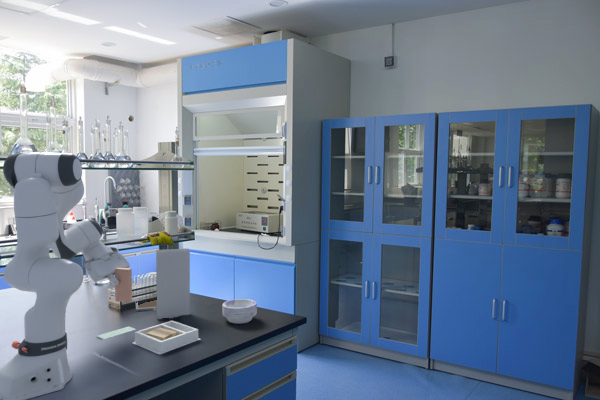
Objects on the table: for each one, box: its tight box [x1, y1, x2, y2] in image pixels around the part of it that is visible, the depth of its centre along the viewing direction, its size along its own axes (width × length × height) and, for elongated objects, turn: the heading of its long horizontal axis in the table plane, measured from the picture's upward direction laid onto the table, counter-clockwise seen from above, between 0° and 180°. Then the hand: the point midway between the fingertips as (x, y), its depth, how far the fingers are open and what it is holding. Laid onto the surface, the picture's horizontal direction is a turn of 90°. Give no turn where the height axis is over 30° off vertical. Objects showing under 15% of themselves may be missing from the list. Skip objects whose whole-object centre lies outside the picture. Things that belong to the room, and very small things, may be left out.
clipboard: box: [135, 300, 157, 312], centre depth 227 cm, size 19×2×30 cm
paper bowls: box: [221, 298, 258, 325], centre depth 202 cm, size 15×15×8 cm
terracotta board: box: [114, 267, 133, 303], centre depth 180 cm, size 2×6×13 cm, turn 78°
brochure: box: [155, 248, 191, 320], centre depth 205 cm, size 14×6×30 cm, turn 108°
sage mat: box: [96, 326, 137, 340], centre depth 181 cm, size 14×14×1 cm
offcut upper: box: [146, 328, 177, 341], centre depth 172 cm, size 7×9×2 cm
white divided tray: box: [132, 320, 201, 356], centre depth 174 cm, size 19×17×5 cm
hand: (121, 282), depth 180 cm, fingers closed on terracotta board, 2 cm apart
